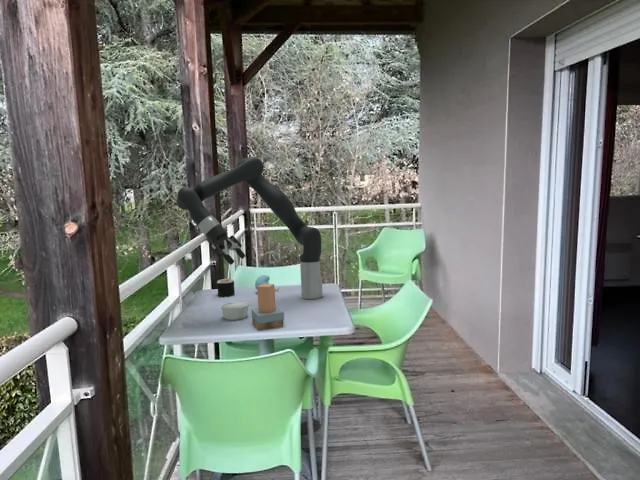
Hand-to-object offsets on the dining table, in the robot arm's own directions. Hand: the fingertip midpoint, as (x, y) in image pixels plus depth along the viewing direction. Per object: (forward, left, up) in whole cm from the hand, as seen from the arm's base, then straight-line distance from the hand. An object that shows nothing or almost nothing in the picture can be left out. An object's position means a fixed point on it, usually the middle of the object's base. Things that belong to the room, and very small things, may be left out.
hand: (238, 260), depth 197 cm
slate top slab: (-8, +10, -22) cm, 26 cm away
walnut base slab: (-8, +10, -25) cm, 28 cm away
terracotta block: (-8, +10, -19) cm, 23 cm away
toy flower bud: (-22, -45, -25) cm, 56 cm away
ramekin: (+1, -7, -25) cm, 26 cm away
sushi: (-2, -49, -25) cm, 55 cm away
